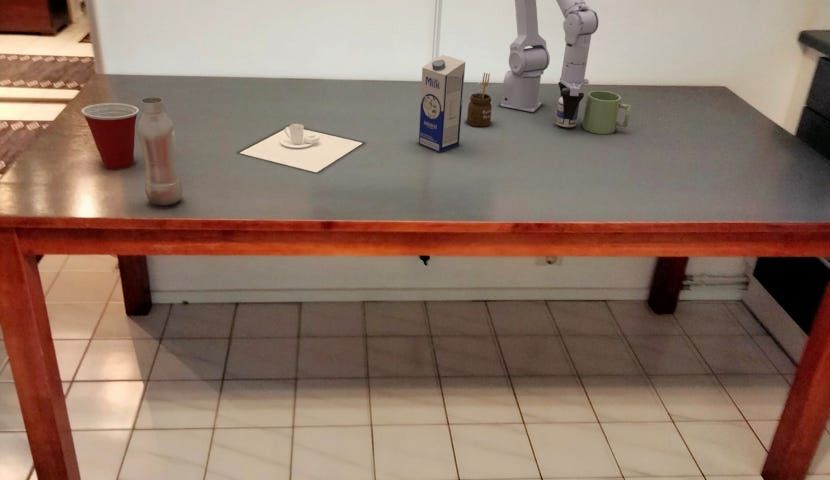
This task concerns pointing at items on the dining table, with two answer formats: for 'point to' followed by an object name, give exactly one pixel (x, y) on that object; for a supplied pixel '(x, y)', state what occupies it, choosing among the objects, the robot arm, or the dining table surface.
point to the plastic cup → (113, 132)
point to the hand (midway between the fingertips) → (566, 115)
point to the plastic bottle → (159, 153)
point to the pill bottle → (560, 117)
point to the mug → (603, 112)
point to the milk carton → (441, 103)
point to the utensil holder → (480, 107)
